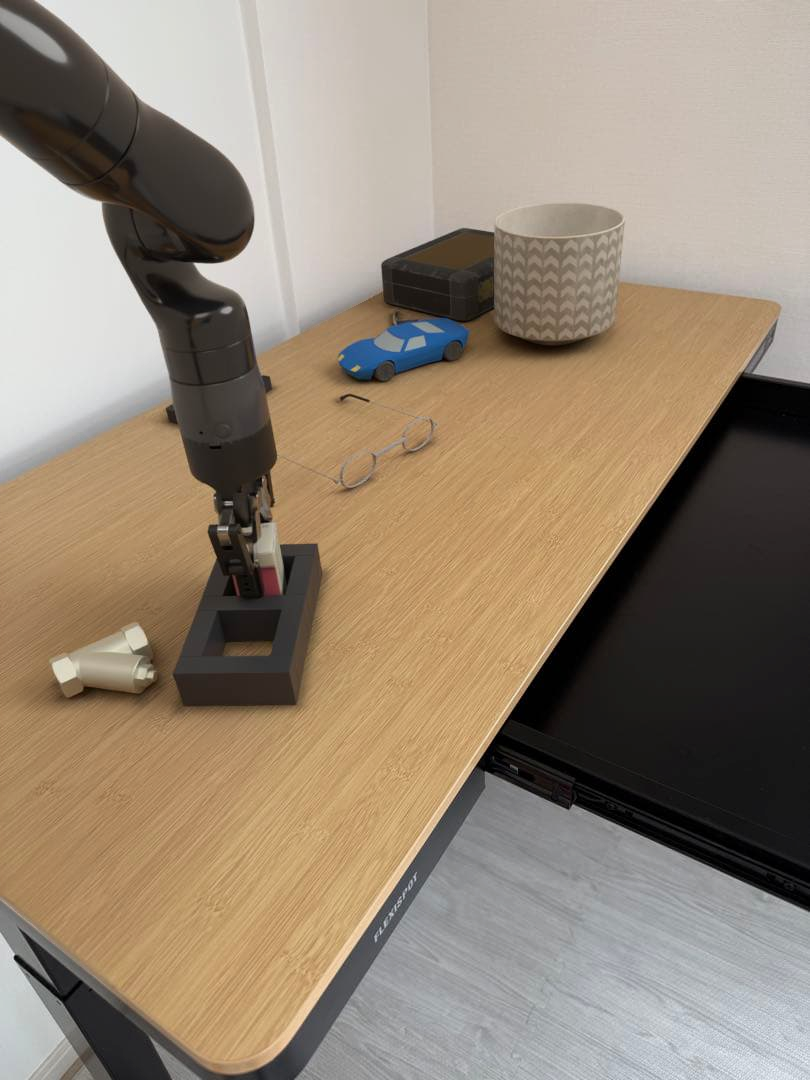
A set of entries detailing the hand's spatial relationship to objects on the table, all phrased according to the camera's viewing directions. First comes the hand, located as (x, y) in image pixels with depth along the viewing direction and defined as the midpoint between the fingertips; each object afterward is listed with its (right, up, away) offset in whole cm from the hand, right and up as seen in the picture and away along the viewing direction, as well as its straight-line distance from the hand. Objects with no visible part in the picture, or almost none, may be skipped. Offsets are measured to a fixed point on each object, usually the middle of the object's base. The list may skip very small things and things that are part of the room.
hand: (259, 575), depth 76 cm
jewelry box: (+25, +49, +72) cm, 90 cm away
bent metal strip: (+13, +41, +61) cm, 75 cm away
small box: (0, -3, +2) cm, 4 cm away
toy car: (+14, +31, +48) cm, 58 cm away
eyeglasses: (+6, +16, +28) cm, 33 cm away
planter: (+38, +36, +52) cm, 74 cm away
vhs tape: (-13, +23, +40) cm, 48 cm away
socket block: (0, -6, -1) cm, 6 cm away
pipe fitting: (-12, -10, -5) cm, 16 cm away
